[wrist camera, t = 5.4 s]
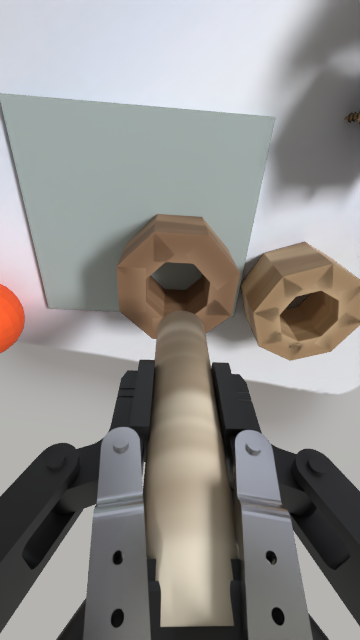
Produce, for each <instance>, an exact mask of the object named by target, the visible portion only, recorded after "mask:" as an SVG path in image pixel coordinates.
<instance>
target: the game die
mask: <svg viewBox="0 0 360 640" xmlns="http://www.w3.org/2000/svg"><path fill="white" fill-rule="evenodd" d="M345 119H346V120H348V122H350V123H351V121H353V122H355V120H357V121H359V124H360V112H359V113H356V112H355V113H350V114H349V116H347V117H346V118H345Z"/></svg>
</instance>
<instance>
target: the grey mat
mask: <svg viewBox="0 0 360 640" xmlns="http://www.w3.org/2000/svg"><path fill="white" fill-rule="evenodd" d="M0 102H1V106H2V110H3V115H4V119H5V123H6V128H7V132H8V136H9V140H10V145H11V149H12V153H13V158H14V162H15V166H16V170H17V175H18V179H19V183H20V187H21V192H22V196H23V200H24V205H25V209H26V213H27V217H28V222H29V226H30V230H31V235H32V239H33V243H34V247H35V252H36V256H37V260H38V264H39V269H40V273H41V277H42V282H43V286H44V290H45V294H46V299H47V303H48V307H49V309H72V310H94V311H117V312H120V311H119V298H118V283H117V268H116V266H117V264H118V262H119V260H120V257H121V255H122V253H123V251H124V248H125V246H126V244H127V243H128V242H129V241H130V240H131V239H132V238H133V237H134V236H135V235H136V234H137V233H138V232H139V231H140V230H141V229H142V228H143V227H144V226H145V225H146V224H147V223H148V222H150V221H151V220H152V219H153V218H154V217H155V216H156V215H157V214H167V215H182V216H198V217H203V219H204V220H205V221H206V222H207V224H208V225H209V226H210V227H211V229H212V230H213V231H214V232H215V234H216V235H217V236H218V237H219V239H220V240H221V241H222V242H223V244H224V245H225V246H226V247H227V249H228V250H229V252H230V254H231V256H232V258H233V260H234V262H235V264H236V266H237V268H238V270H239V272H240V276H239V281H238V286H237V291H236V296H235V301H234V306H233V311H232V316H231V317H234V313H235V308H236V304H237V299H238V294H239V289H240V284H241V280H242V275H243V270H244V265H245V260H246V256H247V251H248V246H249V241H250V236H251V232H252V227H253V222H254V217H255V213H256V208H257V203H258V198H259V193H260V189H261V184H262V179H263V174H264V169H265V165H266V160H267V155H268V150H269V146H270V141H271V136H272V131H273V126H274V122H275V117H270V116H258V115H247V114H235V113H223V112H212V111H200V110H189V109H177V108H165V107H154V106H142V105H130V104H119V103H107V102H95V101H84V100H72V99H61V98H49V97H37V96H26V95H14V94H2V93H0ZM151 276H152V277H153V278H154V279H155V280H156V281H157V282H158V283H159V284H160V285H161V286H162V287H163V288H164V289H176V290H186V289H187V288H189V287H190V286H191V285H192V284H194V283H195V282H196V281H197V280H199V279H200V278H201V276H202V273H201V272H200V270H199V269H198V268H197V267H196V266H195V265H194V264H190V263H172V262H165V263H164V264H163V265H162V266H161V267H159V268H158V269H157V270H156V271H155V272H154V273H152V274H151Z"/></svg>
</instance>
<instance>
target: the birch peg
mask: <svg viewBox="0 0 360 640" xmlns="http://www.w3.org/2000/svg"><path fill="white" fill-rule="evenodd" d="M143 503H144V520H145V539H146V557H147V559H156V577H155V581H159V584H160V588H161V620H160V627H186V626H234V622H233V614H232V606H231V598H230V583H231V581H234V580H233V573H232V566H231V559H240V555H239V547H238V545H237V544H236V541H235V527H234V514H233V513H234V505H233V499H232V493H231V487H230V481H229V475H228V469H227V463H226V457H225V451H224V445H223V440H222V433H221V427H220V421H219V415H218V409H217V403H216V397H215V391H214V385H213V378H212V372H211V365H210V359H209V353H208V347H207V341H206V335H205V329H204V324H203V322H202V320H201V319H200V318H199V317H198V316H197V315H195V314H193V313H191V312H188V311H175V312H172V313H169V314H167V315H166V316H164V317H163V318H162V319H161V321H160V322H159V325H158V329H157V340H156V352H155V375H154V387H153V399H152V411H151V423H150V435H149V440H148V443H147V452H146V464H145V475H144V486H143Z"/></svg>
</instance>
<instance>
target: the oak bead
mask: <svg viewBox="0 0 360 640" xmlns="http://www.w3.org/2000/svg"><path fill="white" fill-rule="evenodd" d="M240 286H241V292H242V297H243V303H244V308H245V314H246V317H247V319H248V322H249V324H250V326H251V329H252V331H253V334H254V336H255V338H256V341H257V343H258V346H259V347H261V348H264V349H266V350H268V351H270V352H272V353H275V354H277V355H279V356H281V357H283V358H285V359H288V360H295V359H299V358H304V357H309V356H313V355H318V354H322V353H327V352H331V351H332V350H333V349H334V348H335V347H336V346H337V345H339V344H340V343H341V342H342V341H343V340H344V339H345V338H346V337H347V336H348V335H350V334H351V333H352V332H353V331H354V330H355V329H356V328H357V327H358V326H359V325H360V279H358V278H357V277H356V276H354V275H353V274H352V273H350V272H349V271H348V270H346V269H345V268H344V267H342V266H341V265H340V264H338V263H337V262H336V261H334V260H333V259H331V258H330V257H328V256H327V255H325V254H323V253H322V252H320V251H319V250H317V249H316V248H314V247H312V246H311V245H309V244H308V243H306V242H302V243H299V244H295V245H291V246H288V247H284V248H280V249H277V250H273V251H270V252H266V253H264V254H263V255H262V256H261V258H260V259H259V260H258V262H257V263H256V264H255V266H254V267H253V268H252V270H251V271H250V273H249V274H248V275H247V277H246V278H245V279H244V281H243V282H242V283H241V285H240ZM309 293H310V294H309ZM305 294H309V296H308V297H307V298H306V299H305V300H304V301H303V302H302V303H301V304H300V305H299V307H295V308H291V309H286V310H285V308H286V307H287V306H288V305H289V304H290V303H291V302H292V300H293V299H294V298H295V297H297V296H301V295H305Z"/></svg>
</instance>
